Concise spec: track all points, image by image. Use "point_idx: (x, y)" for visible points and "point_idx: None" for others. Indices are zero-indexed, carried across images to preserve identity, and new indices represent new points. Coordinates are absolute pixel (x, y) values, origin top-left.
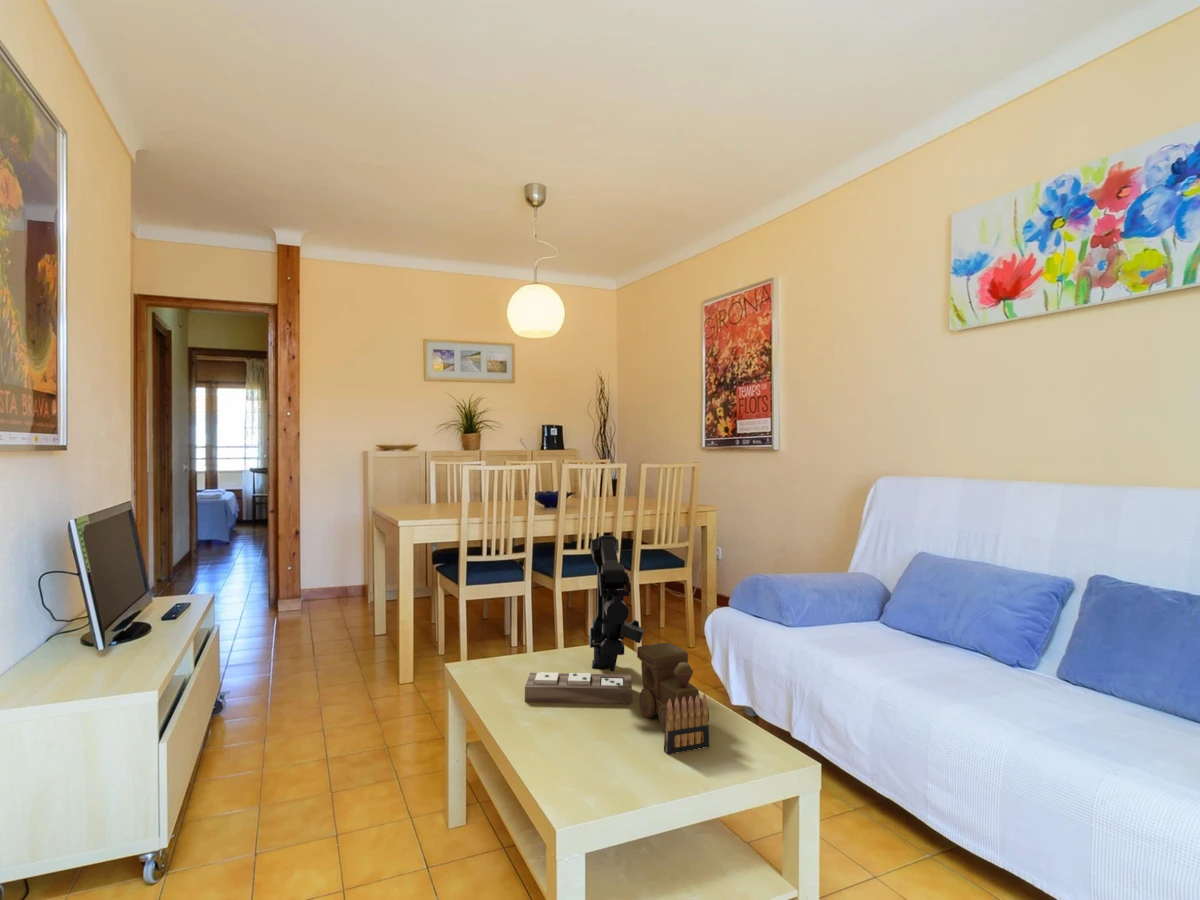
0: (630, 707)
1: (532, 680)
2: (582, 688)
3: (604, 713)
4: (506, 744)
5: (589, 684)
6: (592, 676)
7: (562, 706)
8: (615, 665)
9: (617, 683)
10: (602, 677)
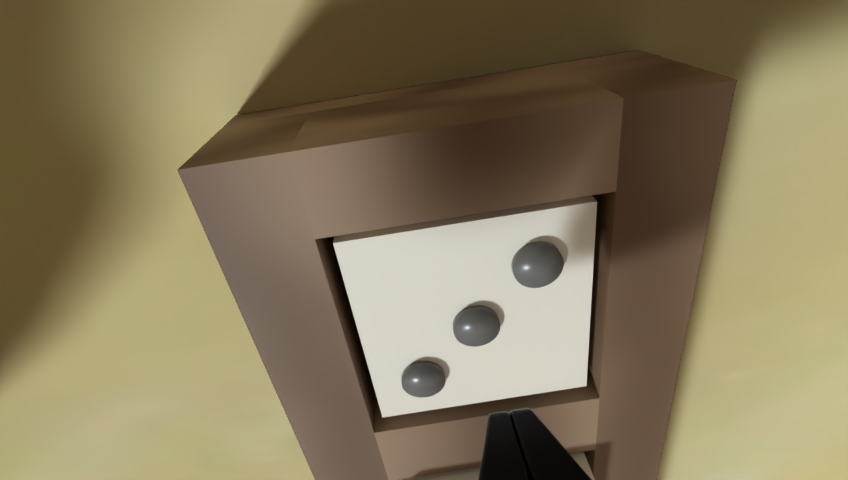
0: (721, 52)
1: None
2: (654, 475)
3: (804, 239)
4: None
5: (584, 460)
6: (386, 478)
7: None
8: (589, 478)
9: (538, 271)
10: (370, 413)
